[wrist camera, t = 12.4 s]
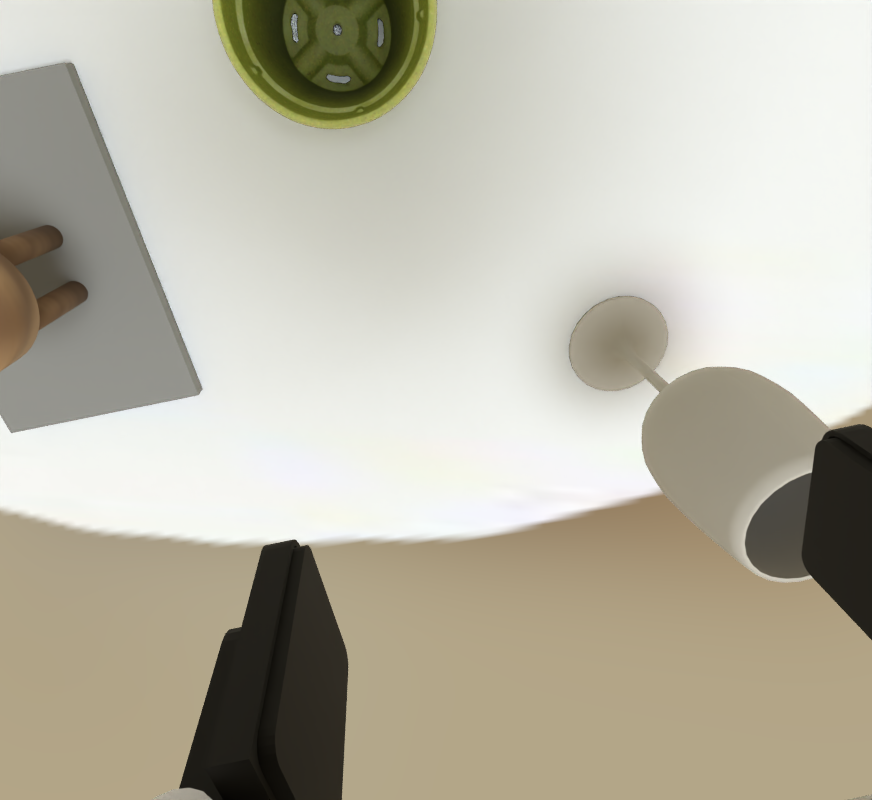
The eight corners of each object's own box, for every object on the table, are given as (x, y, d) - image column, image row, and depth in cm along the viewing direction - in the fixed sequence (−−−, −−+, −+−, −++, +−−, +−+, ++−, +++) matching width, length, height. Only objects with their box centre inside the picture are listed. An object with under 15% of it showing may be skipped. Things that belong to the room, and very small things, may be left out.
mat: (-161, 111, 32) (-177, 111, 31) (73, 64, 32) (64, 62, 31) (18, 425, 41) (10, 433, 40) (202, 388, 41) (198, 395, 40)
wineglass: (567, 399, 44) (710, 610, 25) (565, 301, 41) (729, 460, 22) (665, 384, 44) (881, 583, 25) (672, 285, 41) (925, 430, 22)
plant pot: (422, 127, 35) (435, 130, 27) (261, 125, 34) (227, 127, 26) (423, -68, 31) (438, -130, 23) (240, -76, 30) (193, -143, 22)
